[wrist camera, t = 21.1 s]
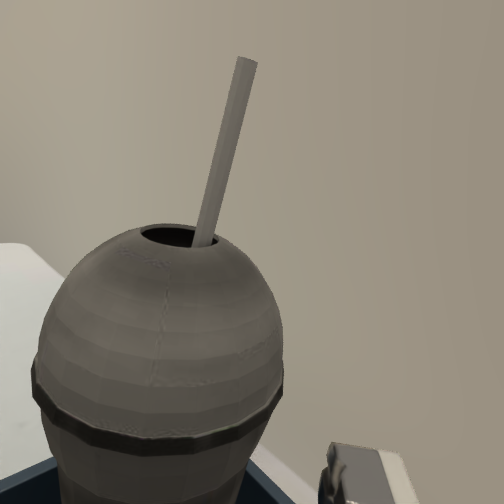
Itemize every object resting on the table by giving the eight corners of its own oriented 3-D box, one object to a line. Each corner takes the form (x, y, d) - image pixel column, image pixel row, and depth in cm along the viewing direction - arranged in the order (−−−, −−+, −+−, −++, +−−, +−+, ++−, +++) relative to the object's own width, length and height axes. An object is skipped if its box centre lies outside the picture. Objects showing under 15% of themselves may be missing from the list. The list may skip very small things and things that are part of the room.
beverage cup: (113, 496, 19) (141, 61, 13) (252, 550, 18) (355, 92, 12) (-18, 684, 13) (-82, -23, 7) (187, 797, 11) (351, 25, 5)
